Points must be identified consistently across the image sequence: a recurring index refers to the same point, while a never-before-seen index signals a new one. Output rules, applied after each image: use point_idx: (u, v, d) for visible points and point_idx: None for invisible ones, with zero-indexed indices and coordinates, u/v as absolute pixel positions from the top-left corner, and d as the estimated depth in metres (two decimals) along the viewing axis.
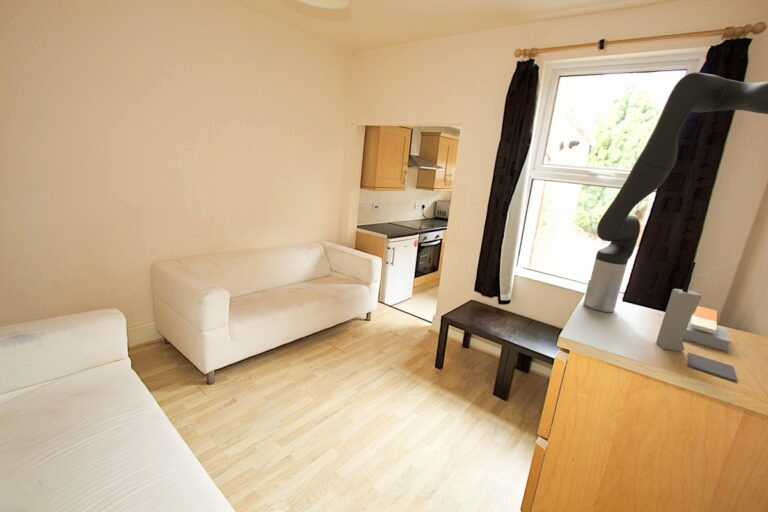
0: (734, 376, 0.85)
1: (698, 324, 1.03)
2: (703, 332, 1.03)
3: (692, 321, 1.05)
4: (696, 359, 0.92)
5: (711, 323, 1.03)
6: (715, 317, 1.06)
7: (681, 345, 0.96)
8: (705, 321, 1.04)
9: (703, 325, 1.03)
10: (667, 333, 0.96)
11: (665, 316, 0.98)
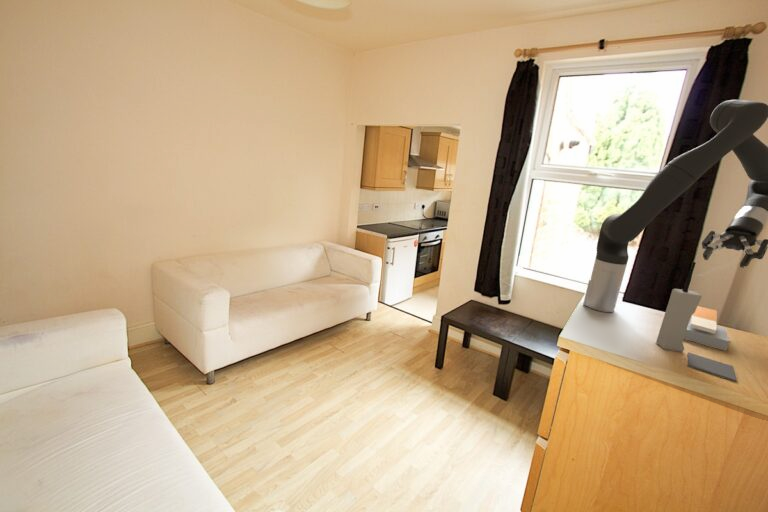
0: (734, 376, 0.85)
1: (698, 324, 1.03)
2: (703, 332, 1.03)
3: (692, 321, 1.05)
4: (696, 359, 0.92)
5: (711, 323, 1.03)
6: (715, 317, 1.06)
7: (681, 345, 0.96)
8: (705, 321, 1.04)
9: (703, 325, 1.03)
10: (667, 333, 0.96)
11: (665, 316, 0.98)
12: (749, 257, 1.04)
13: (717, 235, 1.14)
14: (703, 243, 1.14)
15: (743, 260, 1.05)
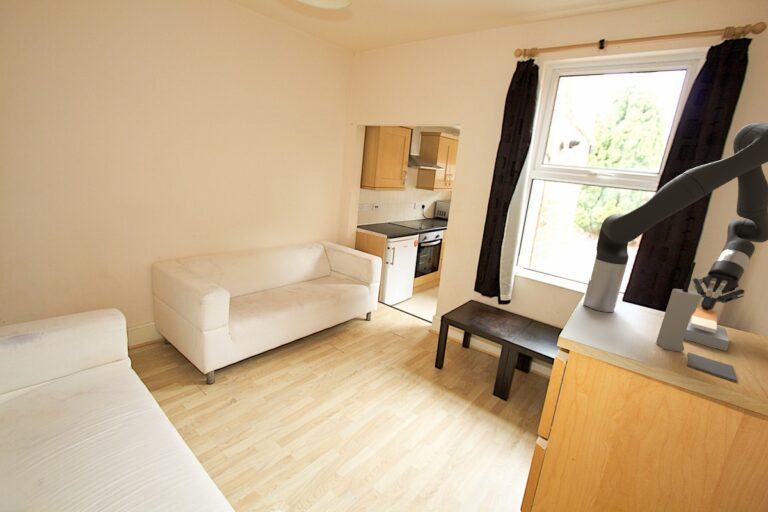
0: (734, 376, 0.85)
1: (698, 323, 1.03)
2: (703, 332, 1.03)
3: (692, 321, 1.05)
4: (696, 359, 0.92)
5: (711, 323, 1.03)
6: (715, 317, 1.06)
7: (681, 345, 0.96)
8: (705, 320, 1.04)
9: (703, 324, 1.03)
10: (667, 333, 0.96)
11: (665, 316, 0.98)
12: (714, 301, 1.09)
13: (701, 280, 1.15)
14: (702, 292, 1.12)
15: (708, 304, 1.09)
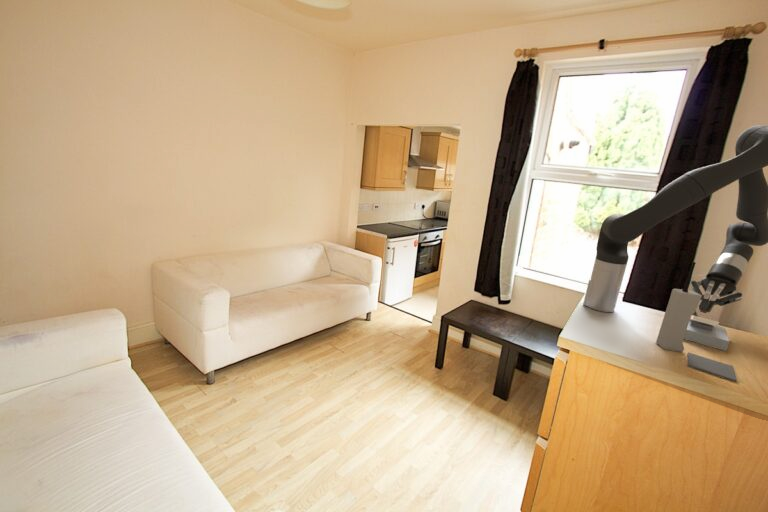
0: (734, 376, 0.85)
1: (700, 317, 1.03)
2: (703, 332, 1.03)
3: None
4: (696, 359, 0.92)
5: None
6: None
7: (681, 345, 0.96)
8: None
9: (705, 318, 1.03)
10: (667, 333, 0.96)
11: (665, 316, 0.98)
12: (711, 303, 1.09)
13: (699, 283, 1.15)
14: (700, 294, 1.12)
15: (706, 306, 1.09)
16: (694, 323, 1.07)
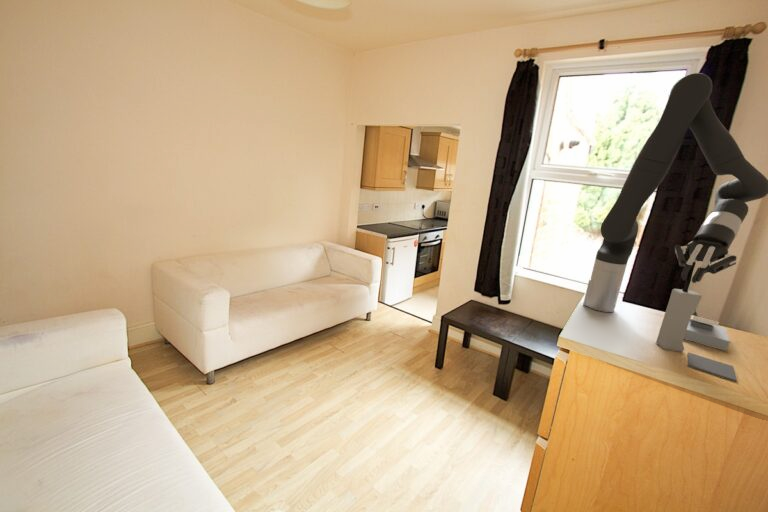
0: (734, 376, 0.85)
1: (700, 317, 1.03)
2: (703, 332, 1.03)
3: None
4: (696, 359, 0.92)
5: None
6: None
7: (681, 345, 0.96)
8: None
9: (705, 318, 1.03)
10: (667, 333, 0.96)
11: (665, 316, 0.98)
12: (702, 271, 0.91)
13: (684, 247, 0.97)
14: (682, 260, 0.95)
15: (695, 274, 0.91)
16: (694, 323, 1.07)
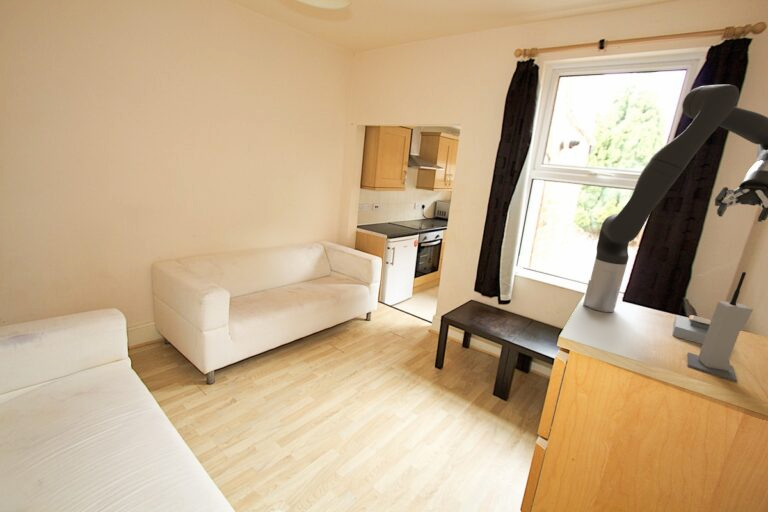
0: (734, 376, 0.85)
1: (700, 317, 1.03)
2: (703, 332, 1.03)
3: None
4: (696, 359, 0.92)
5: None
6: None
7: (727, 364, 0.87)
8: None
9: (705, 318, 1.03)
10: (711, 350, 0.87)
11: (708, 331, 0.89)
12: (767, 210, 0.99)
13: (730, 191, 1.08)
14: (717, 199, 1.08)
15: (762, 213, 0.99)
16: (694, 323, 1.07)
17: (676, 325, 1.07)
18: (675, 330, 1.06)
